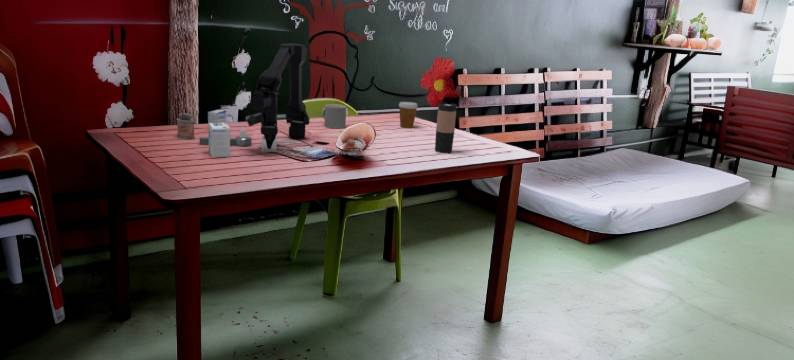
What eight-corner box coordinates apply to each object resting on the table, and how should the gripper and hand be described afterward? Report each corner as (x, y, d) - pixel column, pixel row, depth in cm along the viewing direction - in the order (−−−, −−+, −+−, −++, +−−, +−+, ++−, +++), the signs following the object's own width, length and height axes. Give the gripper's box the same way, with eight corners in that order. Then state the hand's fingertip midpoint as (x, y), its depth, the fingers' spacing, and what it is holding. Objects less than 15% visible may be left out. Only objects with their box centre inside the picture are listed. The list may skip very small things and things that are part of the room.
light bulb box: (208, 150, 227) (207, 122, 224) (226, 150, 230) (226, 122, 227) (211, 157, 218) (211, 128, 215) (230, 157, 221) (230, 128, 218)
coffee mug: (349, 128, 288) (350, 107, 285) (331, 129, 281) (332, 108, 279) (333, 122, 297) (334, 102, 295) (316, 124, 291) (317, 103, 288)
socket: (276, 148, 237) (276, 136, 236) (276, 152, 232) (276, 139, 231) (261, 148, 236) (261, 135, 235) (261, 151, 231) (261, 139, 230)
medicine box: (217, 132, 257) (217, 112, 255) (208, 131, 258) (207, 111, 256) (226, 129, 265) (226, 110, 263) (217, 128, 266) (216, 109, 263)
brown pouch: (175, 137, 244) (174, 112, 241) (180, 135, 247) (180, 111, 244) (191, 140, 241) (190, 115, 239) (196, 138, 244) (196, 114, 242)
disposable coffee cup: (404, 124, 306) (406, 101, 303) (419, 127, 301) (421, 103, 298) (393, 126, 299) (394, 102, 295) (408, 129, 294) (410, 105, 290)
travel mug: (440, 153, 249) (444, 105, 244) (430, 149, 256) (435, 102, 250) (455, 153, 253) (460, 105, 247) (446, 148, 259) (450, 102, 254)
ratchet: (251, 143, 243) (251, 128, 242) (251, 147, 237) (251, 132, 236) (200, 142, 239) (200, 127, 238) (199, 145, 233) (198, 130, 232)
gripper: (248, 102, 237) (248, 141, 241) (246, 110, 219) (246, 152, 223) (277, 103, 239) (276, 141, 243) (278, 111, 222) (277, 153, 226)
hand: (268, 147), depth 234 cm, fingers closed on socket, 6 cm apart
